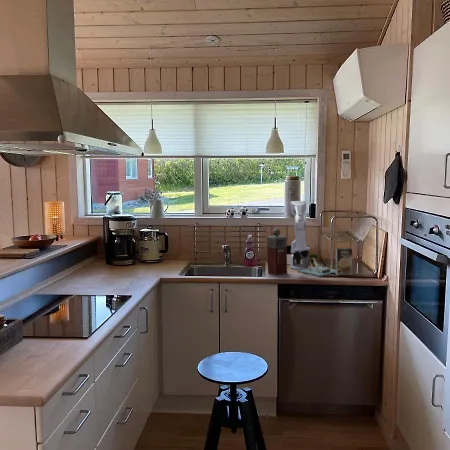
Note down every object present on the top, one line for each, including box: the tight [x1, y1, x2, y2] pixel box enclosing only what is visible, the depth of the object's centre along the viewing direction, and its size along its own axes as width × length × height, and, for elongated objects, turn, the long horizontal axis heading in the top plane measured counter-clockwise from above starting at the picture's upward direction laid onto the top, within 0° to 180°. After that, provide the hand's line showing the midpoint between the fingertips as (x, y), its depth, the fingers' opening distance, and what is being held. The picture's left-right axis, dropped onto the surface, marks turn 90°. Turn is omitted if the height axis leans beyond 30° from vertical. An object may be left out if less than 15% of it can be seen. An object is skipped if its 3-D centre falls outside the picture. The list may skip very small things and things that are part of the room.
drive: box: [293, 256, 310, 269], centre depth 271 cm, size 10×4×6 cm, turn 34°
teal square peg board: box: [297, 264, 336, 277], centre depth 280 cm, size 18×18×4 cm
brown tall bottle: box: [266, 228, 288, 276], centre depth 279 cm, size 9×11×28 cm
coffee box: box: [335, 247, 353, 276], centre depth 270 cm, size 9×6×16 cm
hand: (300, 263), depth 271 cm, fingers closed on drive, 4 cm apart
